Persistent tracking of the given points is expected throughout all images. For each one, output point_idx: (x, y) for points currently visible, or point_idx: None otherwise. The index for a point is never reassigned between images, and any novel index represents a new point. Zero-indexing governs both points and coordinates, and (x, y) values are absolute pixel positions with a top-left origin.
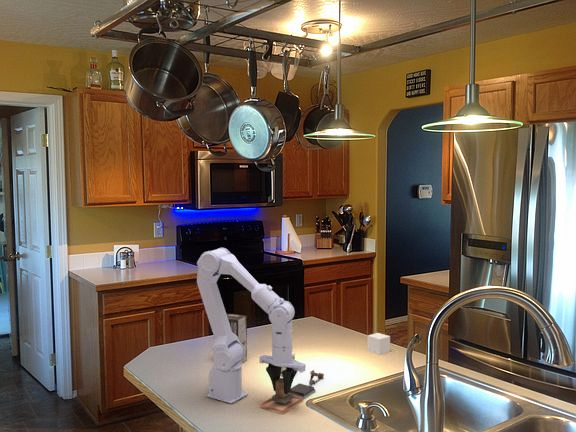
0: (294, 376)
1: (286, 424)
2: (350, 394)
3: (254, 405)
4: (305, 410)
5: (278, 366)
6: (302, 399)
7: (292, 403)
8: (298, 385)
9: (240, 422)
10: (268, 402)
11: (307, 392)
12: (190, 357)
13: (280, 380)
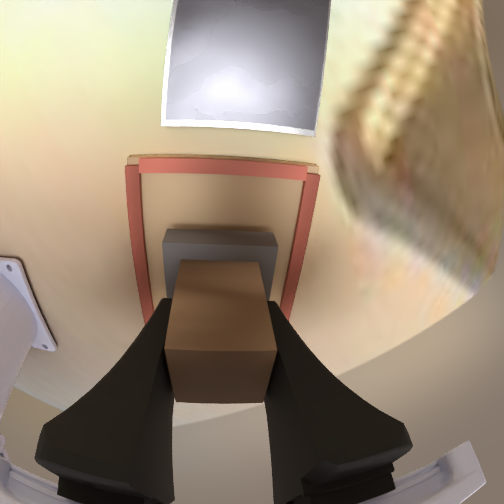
0: (347, 394)
1: None
2: (475, 16)
3: (118, 326)
4: (360, 263)
5: (153, 489)
6: (318, 180)
7: (279, 250)
8: (198, 7)
9: (183, 409)
10: (154, 299)
11: (318, 80)
12: None
13: (203, 387)
